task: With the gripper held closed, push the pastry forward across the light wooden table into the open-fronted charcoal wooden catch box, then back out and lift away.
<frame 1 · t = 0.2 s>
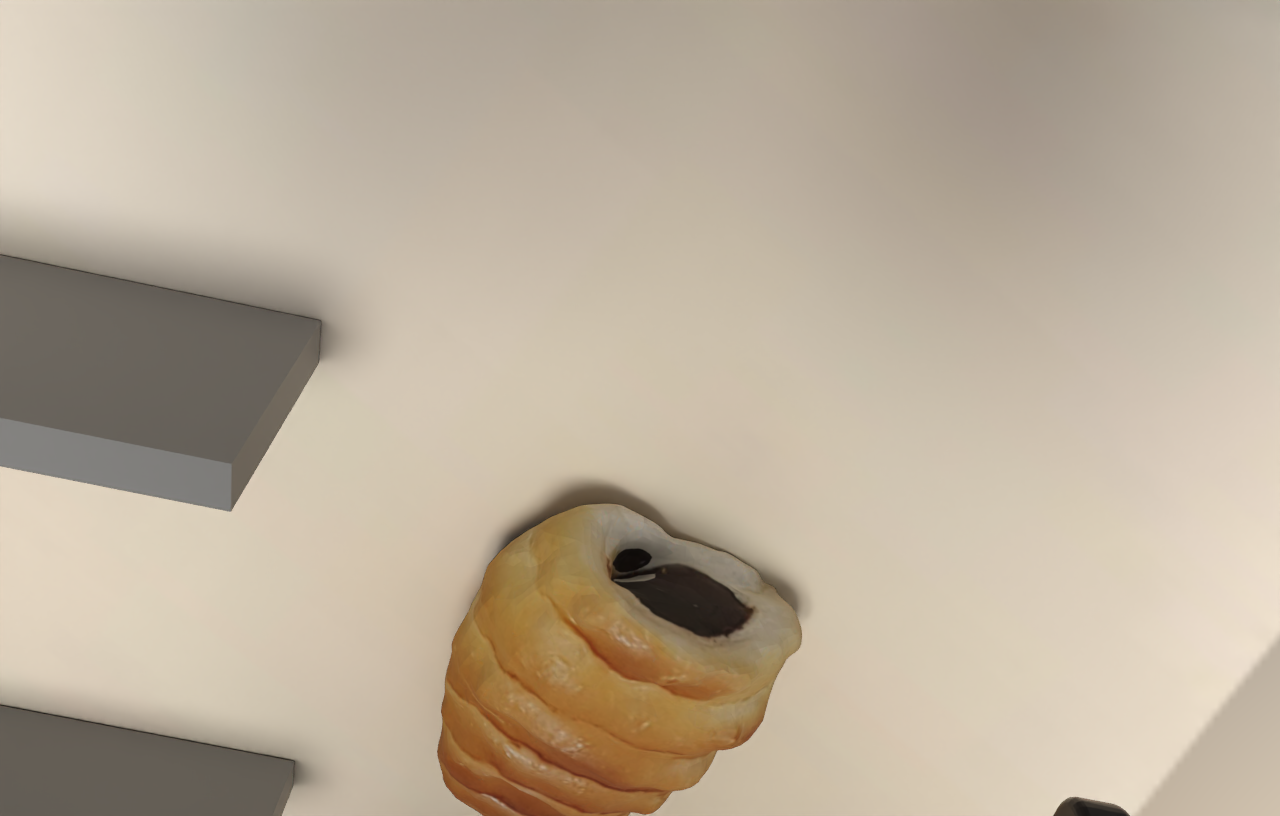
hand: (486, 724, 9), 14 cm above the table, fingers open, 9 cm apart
pastry: (612, 631, 29), on the table
catch box: (20, 529, 28), on the table
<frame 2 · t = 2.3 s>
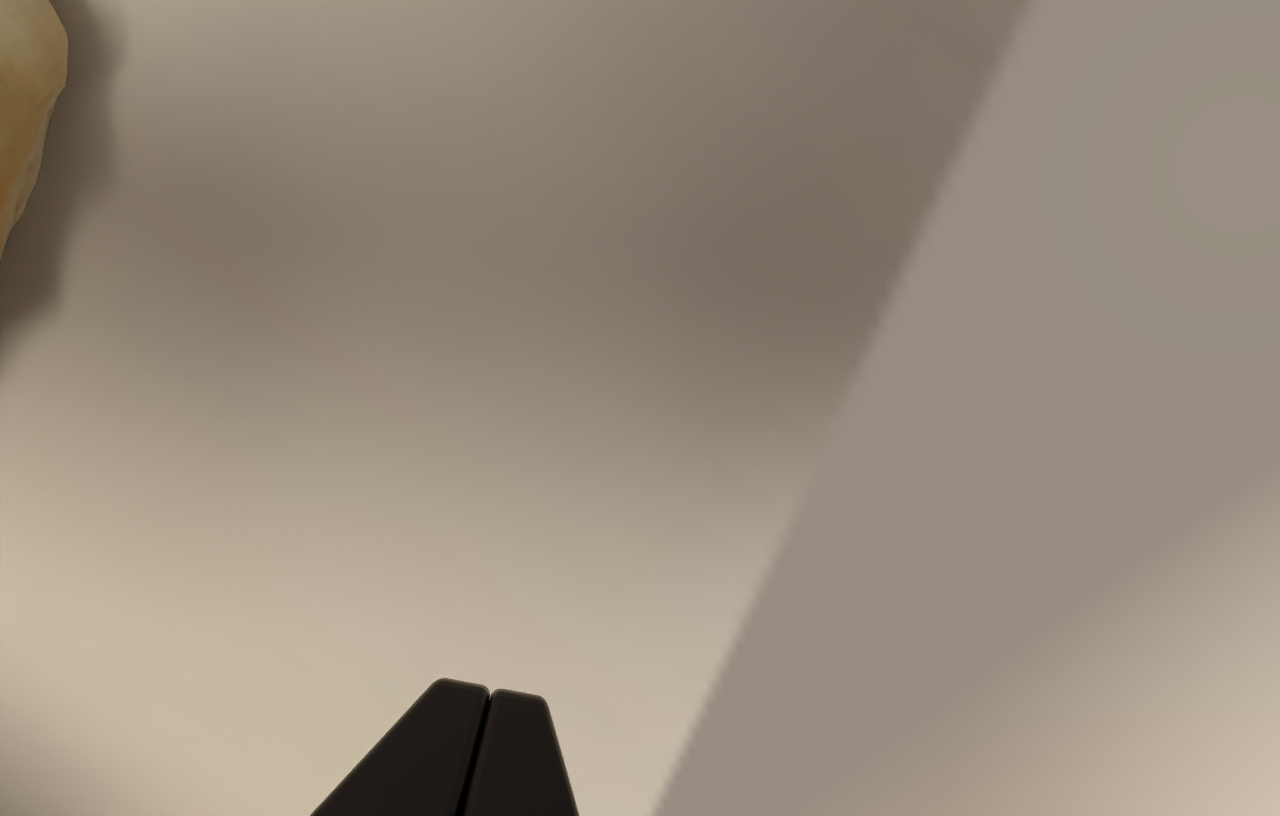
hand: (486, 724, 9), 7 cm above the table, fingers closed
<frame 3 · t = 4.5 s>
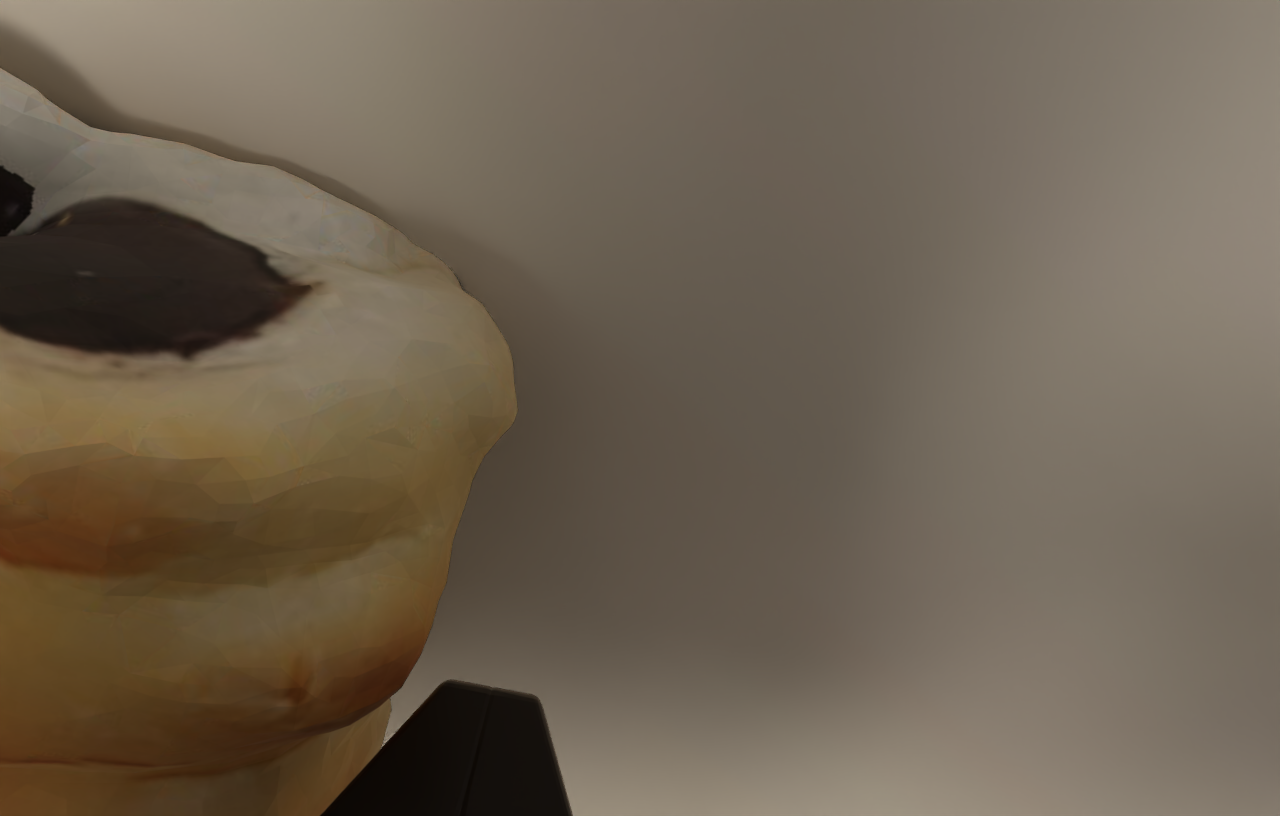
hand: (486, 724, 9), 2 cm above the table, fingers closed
pastry: (114, 472, 11), on the table
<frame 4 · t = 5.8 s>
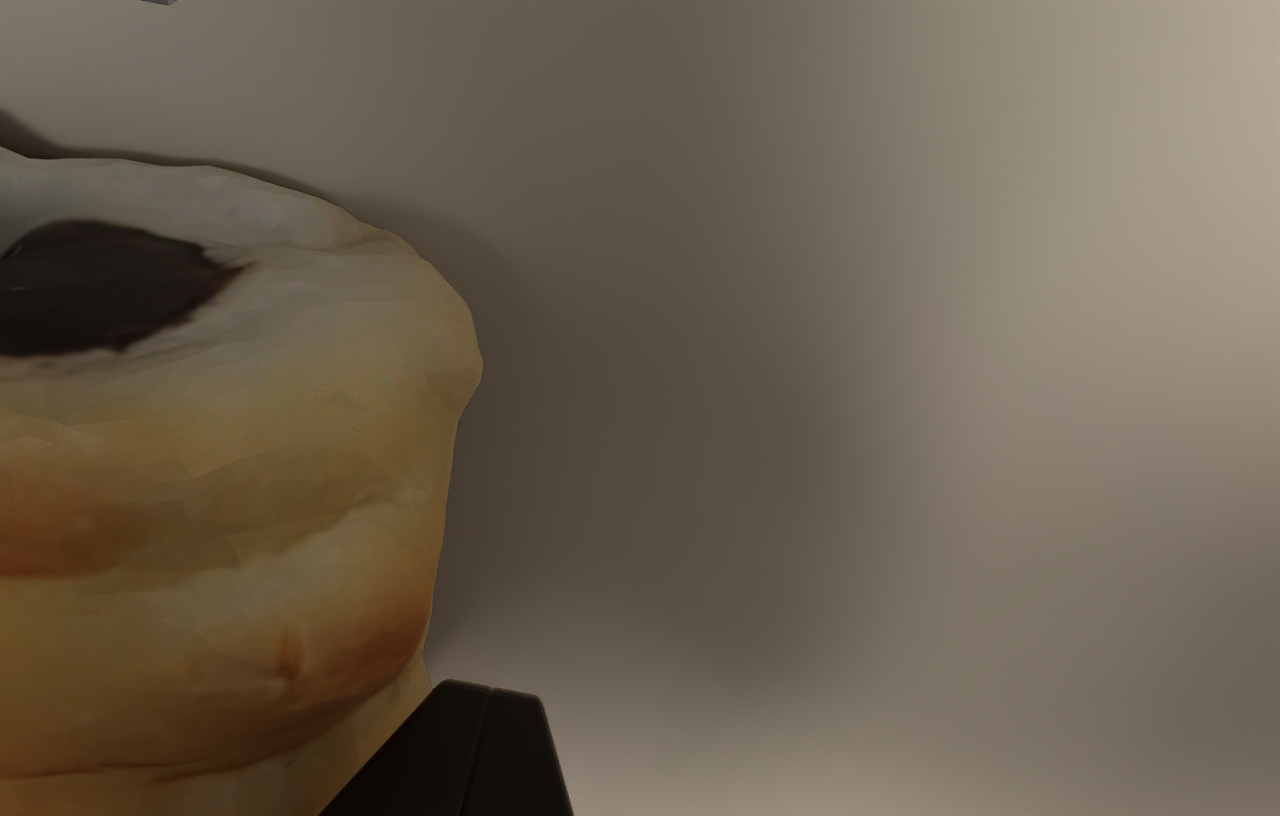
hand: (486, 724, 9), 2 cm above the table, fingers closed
pastry: (143, 503, 12), on the table
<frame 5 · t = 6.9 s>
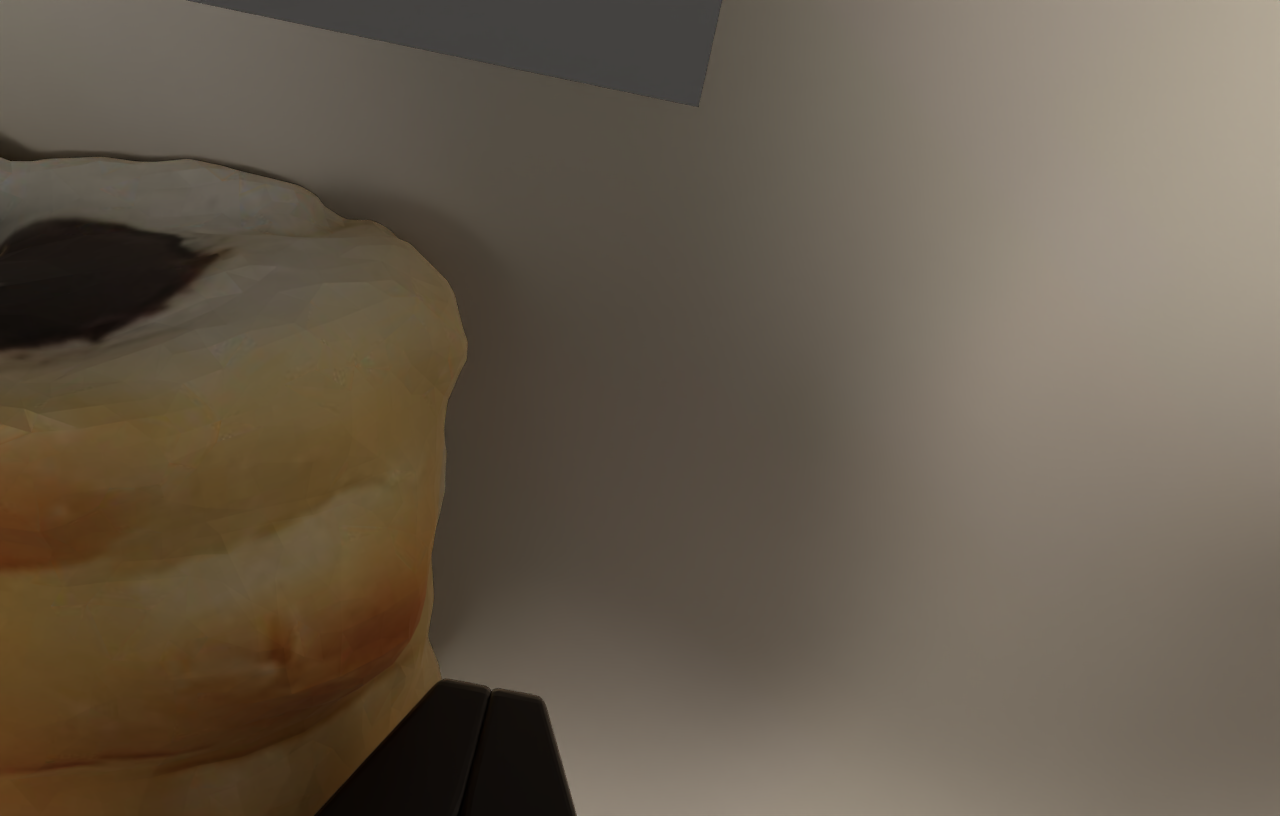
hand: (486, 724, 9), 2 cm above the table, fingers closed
pastry: (151, 504, 12), on the table
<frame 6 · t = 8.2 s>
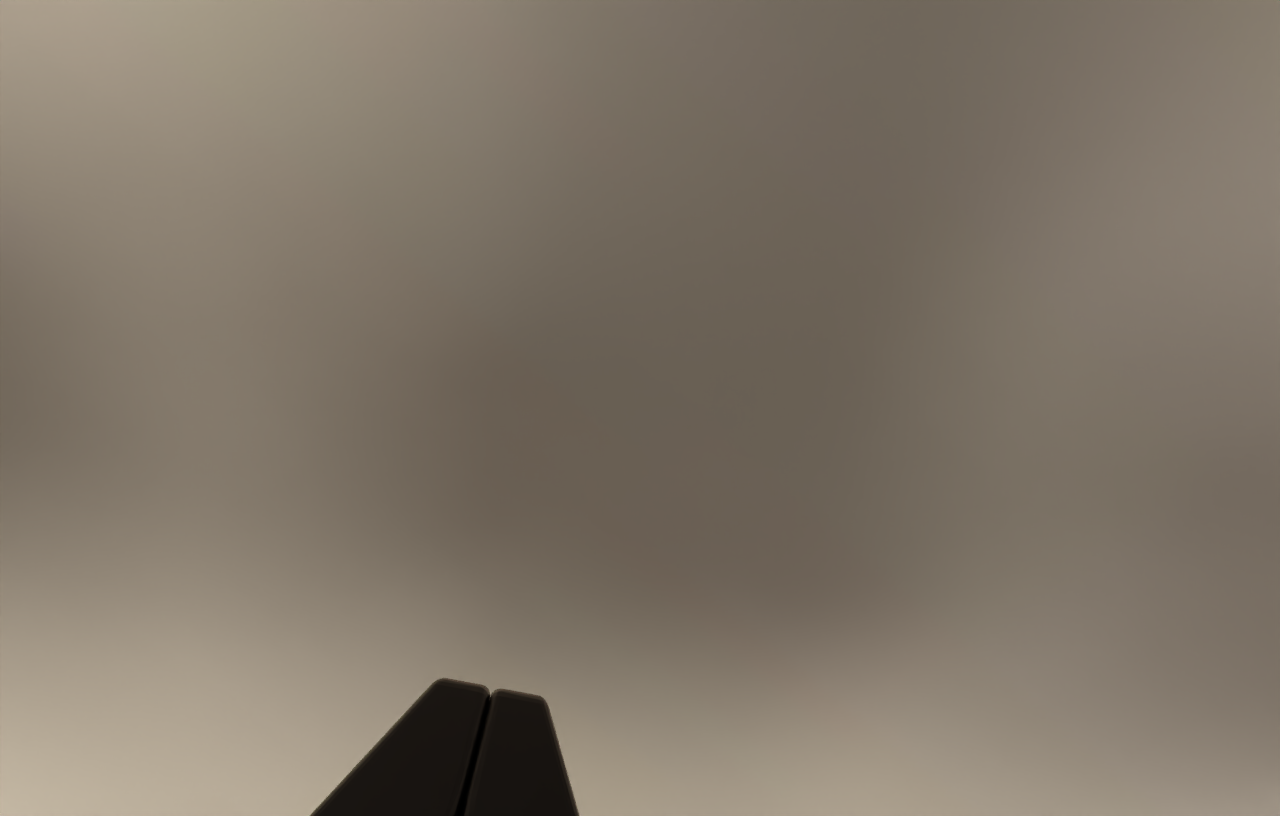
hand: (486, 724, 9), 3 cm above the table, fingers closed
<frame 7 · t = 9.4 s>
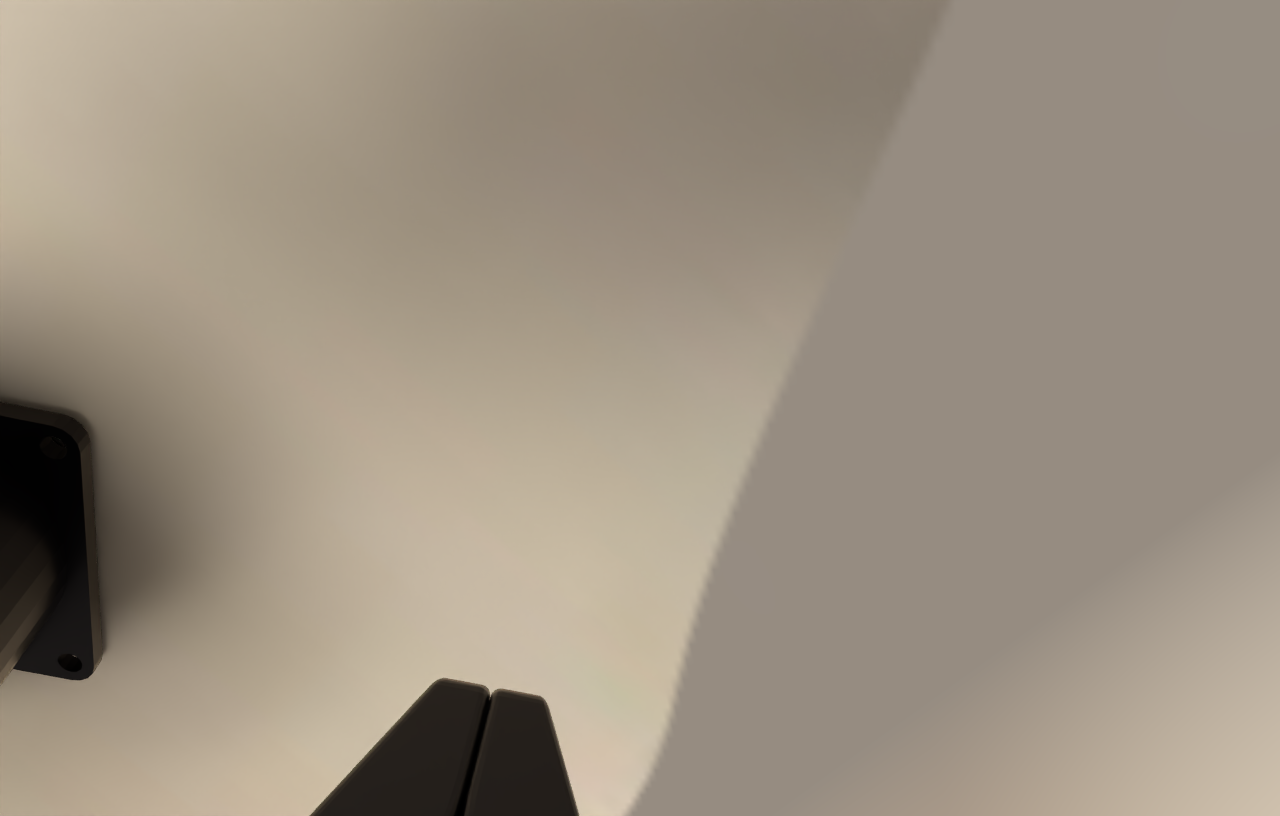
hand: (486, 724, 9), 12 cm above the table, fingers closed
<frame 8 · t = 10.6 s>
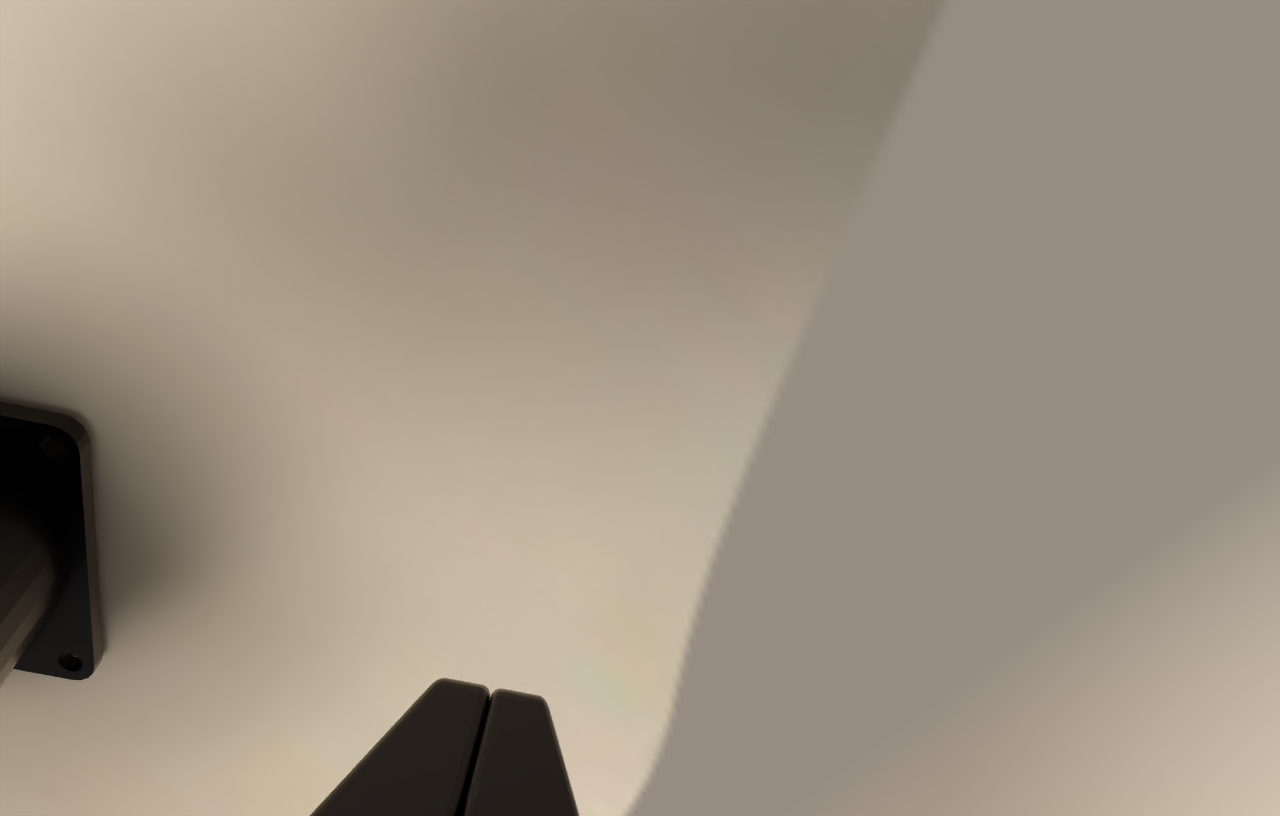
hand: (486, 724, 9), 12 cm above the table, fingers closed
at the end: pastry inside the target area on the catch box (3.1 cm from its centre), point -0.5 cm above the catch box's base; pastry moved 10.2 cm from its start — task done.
